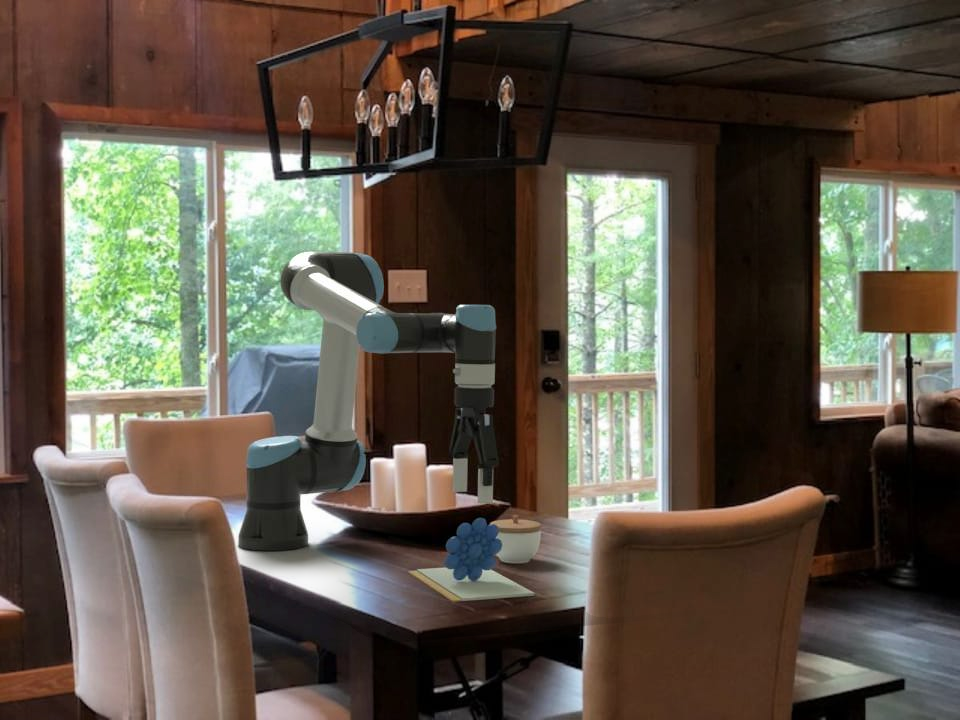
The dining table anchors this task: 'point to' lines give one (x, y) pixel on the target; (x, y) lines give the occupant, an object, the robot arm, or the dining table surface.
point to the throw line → (435, 586)
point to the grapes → (473, 549)
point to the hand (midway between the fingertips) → (472, 497)
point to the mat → (476, 585)
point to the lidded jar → (518, 539)
